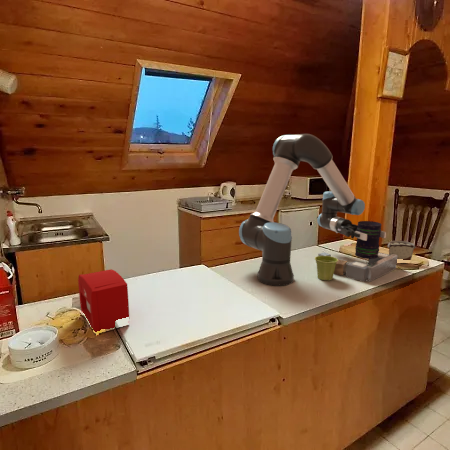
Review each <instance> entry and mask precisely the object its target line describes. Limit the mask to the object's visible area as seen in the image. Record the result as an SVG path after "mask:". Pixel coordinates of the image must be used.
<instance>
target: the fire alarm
mask: <svg viewBox="0 0 450 450" xmlns="http://www.w3.org/2000/svg"><path fill="white" fill-rule="evenodd" d="M77 283H78V296H79V305H80V311H81V312H82V311H83V313H84V314H85V316H86V318H87V319H88V321H89V323H90V325H91V327H92V328H93V330H94V331H95V332H97V331H100V330H101V329H110V328H114V327H115V321H116V320H118V319H122V318H126V317H129V318H130V307H129V306H130V305H129V304H130V303H129V290H128V283H127V282H126V280H125V279H124V278H123V277H122V275H120V274H119V273H118V272H117V271H116V270H114V269H111V268H110V269H105V270H100V271H96V272H95V271H94V272H90V273H89V272H88V273H84V274H83V273H81V274H79V275H78V279H77Z"/></svg>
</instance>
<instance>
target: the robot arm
mask: <svg viewBox="0 0 450 450" xmlns="http://www.w3.org/2000/svg"><path fill="white" fill-rule="evenodd" d="M272 145H273V146H272V155H273V158H272V159H273V161H274V162H273V163H274V165H273V167H272V170H271V172H270V174H269V177H268V180H267V181H266V185H265V187H264V190H263V191H262V194H261V197H260V199H259V201H258V205H257V206H256V209H255V210H254V212H252V213H250V215H249V217H248V219H245V220H244V221H242V222H241V224H240V225H239V229H238V235H239V239H240V242H242V243H243V244H244V245H245V246H247V247H249V248H253V249H255V250H259V251H260V252H262V257H261V258H262V259H261V262H260V263H261V264H260V266H259V269H258V272H257V280H258V281H259V282H260V283H262V284H264V285H267V286H268V285H269V286H274V287H276V286H277V287H282V286H283V287H284V286H288V285H291V284H292V283H294V277H295V275H294V272H293V267H292V265H291V257H292V256H291V254H292V253H291V252H292V241H293V240H292V239H293V236H292V228H290V227H289V226H288V225H287V224H284V223H282V222H281V223H280V222H276V221H274V217H275V215H276V212H277V211H278V208H279V205H280V202H281V201H282V197H283V195H284V193H285V191H286V189H287V185H288V183H289V181H290V178H291V175H292V174H293V171H294V170H296V169H298V168H299V165H300V162H305V163H308V164H309V165H310V166H311V167H312V168H313V169H314V170H317V172H318V174H319V175H320V176H321V178H322V180H323V181H324V182H325V184H326V186H327V187H328V188H329V191H324V192H323V194H322V208H321V213H320V214H319V215H318V217H316V222H317V225H318V226H320V227H322V228H323V229H326V230H330V231H332V232H335V233H336V234H338V233H339V234H341V235H344V236H346V237H347V238H351V239H355V238H356V239H357V238H359V239H362V240H365V241H367V234H364V233H361V232H358V231H357V228H358V224H355V223H353V222H352V220H350V219H348V218H343V217H342V216H341V217H340V216H338V213H344V214H347V215H348V214H349V215H352V216H353V215H355V216H360V215H362V214H363V213H364V211H365V208H366V207H365V205H366V203H365V201H364V200H362V199H359V198H356V196H355V194H354V193H353V192H352V191H353V190H351V188H350V186H349V185H348V183H347V181H346V180H345V178H344V176H343V175H342V173H341V171H340V170H339V168H338V167H337V165H336V163H335V162H334V160H333V154H332V152H331V151H330V149H329V148H328V146H327V145H326V144H325V143H324V142H323V141H322V140H321V139H320V138H318V137H317V136H315V135H313V134H310V133H300V134H299V133H297V134H294V133H293V134H291V133H288V134H283V135H281V136H279V137H278V138H276V139H275V140H274V143H273V144H272ZM380 238H381V239H386V238H387V231H383V230H381V235H380Z"/></svg>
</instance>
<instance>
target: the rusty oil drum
mask: <svg viewBox="0 0 450 450" xmlns="http://www.w3.org/2000/svg"><path fill="white" fill-rule="evenodd" d="M357 225H358V228H357V231H358V232H361V233H364V234H367V241H365V240H362V239H359V238H356V242H355V254H354V255H355V257H357V258H360V259H366V260H369V259H376V258H378V252H380V238H381V237H380V235H381V231H382V223H381V222H378V221H370V220H360V221H357Z"/></svg>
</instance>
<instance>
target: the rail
mask: <svg viewBox="0 0 450 450" xmlns="http://www.w3.org/2000/svg"><path fill="white" fill-rule="evenodd" d="M397 257H398V255H395V254H392V255H390V256H388V257H386V258H383V259H381V260H379V261H377V262H375V263H372V264H370V265H368V266H367V271H366V281H365V282H368V283H371V282H373V281H375V280H378V278H381V277H382V276H384V275H387V274H389V273H390V272H392V271H394V270H396V269H397V265H398V264H397Z"/></svg>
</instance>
